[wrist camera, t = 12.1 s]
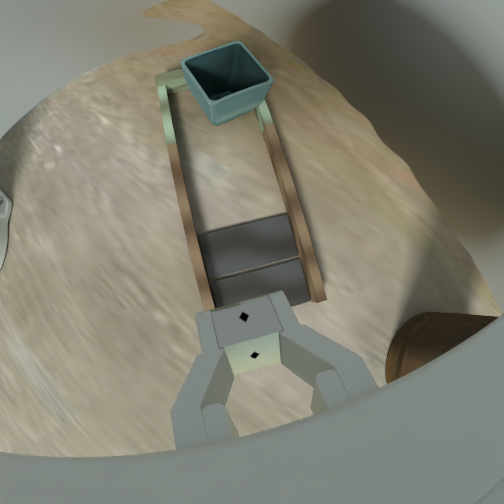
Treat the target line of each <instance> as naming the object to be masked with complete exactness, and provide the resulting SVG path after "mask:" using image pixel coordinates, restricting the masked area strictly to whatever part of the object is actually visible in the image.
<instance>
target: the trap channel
mask: <svg viewBox="0 0 504 504" xmlns="http://www.w3.org/2000/svg"><path fill="white" fill-rule="evenodd" d="M155 79H156V84H157V88H158V95H159V101H160V107H161V113H162V119H163V125H164V131H165V137H166V142H167V148H168V153H169V158H170V164H171V169H172V174H173V179H174V184H175V189H176V194H177V198H178V203H179V208H180V212H181V217H182V221H183V226H184V230H185V234H186V239H187V243H188V247H189V251H190V256H191V260H192V264H193V268H194V272H195V276H196V280H197V284H198V288H199V291H200V295H201V299H202V303H203V307H204V310H205V311H206V310H211V309H214V308H215V305H214V302H213V298H212V294H211V290H210V286H209V283H208V279H207V275H206V271H205V267H204V263H203V259H202V255H201V251H200V247H199V243H198V239H197V234H196V230H195V226H194V222H193V217H192V213H191V209H190V204H189V200H188V195H187V191H186V186H185V182H184V177H183V172H182V167H181V163H180V158H179V153H178V148H177V143H176V138H175V133H174V127H173V122H172V117H171V111H170V106H169V100H168V94H172V93H176V92H180V91H185V90H189V88H188V86H187V83H186V80H185V77H184V73H183V70H182V69H179V70H174V71H170V72H165V73H161V74H157V75H155ZM254 110H255V113H256V116H257V119H258V121H259V124H260V127H261V131H262V134H263V137H264V140H265V143H266V146H267V149H268V152H269V155H270V158H271V161H272V165H273V168H274V171H275V174H276V177H277V181H278V184H279V187H280V190H281V194H282V197H283V200H284V204H285V207H286V210H287V214H288V217H289V220H288V217H287V214H286V215H281V216H277V217H273V218H269V219H264V220H260V221H256V222H252V223H248V224H243V225H239V226H235V227H231V228H227V229H223V230H219V231H215V232H211V233H207V234H203V235H199V240H200V244H201V248H202V253H203V257H204V261H205V265H206V268H207V272H208V276H209V279H210V278H214V277H218V276H222V275H226V274H230V273H234V272H237V271H241V270H245V269H249V268H253V267H257V266H260V265H264V264H268V263H272V262H276V261H279V260H283V259H287V258H291V257H295V256H298V252H299V256H300V259H301V262H300V259H298V260H294V261H291V262H287V263H283V264H279V265H276V266H272V267H268V268H264V269H261V270H257V271H253V272H249V273H245V274H242V275H238V276H234V277H230V278H226V279H222V280H218V281H215V282H211V283H210V284H211V288H212V292H213V295H214V299H215V303H216V307H217V308H219V307H223V306H227V305H231V304H236V303H239V302H242V301H245V300H249V299H252V298H256V297H259V296H263V295H266V294H267V295H268V294H270V293H274V292H278V291H281V290H282V291H283V292H284V294H285V296H286V298H287V300H288V302H289V304H290V306H291V307H292V306H295V305H299V304H302V303H305V302H308V301H311V300H312V302H316V303H319V302H322V301H325V300H327V298H326V294H325V290H324V286H323V282H322V278H321V275H320V271H319V267H318V264H317V260H316V257H315V253H314V249H313V246H312V242H311V239H310V235H309V232H308V229H307V225H306V222H305V218H304V215H303V212H302V209H301V205H300V202H299V199H298V196H297V192H296V189H295V186H294V183H293V180H292V177H291V173H290V170H289V167H288V164H287V161H286V158H285V155H284V152H283V149H282V146H281V143H280V141H279V138H278V135H277V132H276V129H275V126H274V123H273V120H272V118H271V115H270V112H269V109H268V107H267V104H266V101H265V98H264V100H263V101H262V103H261V104H260V105H259V106H258V107H256V108H255V109H254ZM289 221H290V224H291V227H292V230H291V227H290V224H289ZM292 231H293V234H294V237H293V234H292ZM294 238H295V241H296V244H295V241H294ZM296 245H297V248H298V252H297V248H296ZM301 263H302V266H303V270H304V273H303V270H302V266H301ZM304 274H305V277H304ZM305 278H306V281H307V285H308V288H307V285H306V281H305ZM308 289H309V292H308ZM309 293H310V296H311V300H310V296H309Z"/></svg>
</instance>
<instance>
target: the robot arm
mask: <svg viewBox="0 0 504 504" xmlns="http://www.w3.org/2000/svg"><path fill="white" fill-rule="evenodd" d="M2 202H3V203H2ZM11 208H12V202H11V200H10V199H9V198H8V197H7V196H6V195H5V194H4V193H3V191H2V190H1V189H0V269H1V267H2V264H3V261H4V258H5V254H6V248H7V239H8V220H9V216H10V213H11ZM196 323H197V328H198V334H199V339H200V344H201V349H202V353H200V354H198V355H197V357H196V359H195V361H194V363H193V365H192V368H191V370H190V372H189V374H188V376H187V378H186V380H185V382H184V384H183V386H182V389H181V391H180V393H179V395H178V397H177V399H176V401H175V403H174V405H173V407H172V409H171V418H172V425H173V432H174V438H175V444H176V450H171V451H164V452H156V453H147V454H137V455H125V456H109V457H48V456H33V455H22V454H13V453H5V452H0V504H504V314H502V315H501V316H500V317H498V318H497V319H496V320H494V321H493V322H491V323H490V324H489V325H487V326H486V327H484V328H483V329H482V330H480V331H479V332H477V333H476V334H474V335H473V336H471V337H470V338H468V339H467V340H465V341H464V342H462V343H461V344H459V345H457V346H456V347H454V348H453V349H451V350H449V351H448V352H446V353H444V354H443V355H441V356H439V357H438V358H436V359H434V360H432V361H431V362H429V363H427V364H425V365H423V366H422V367H420V368H418V369H416V370H414V371H412V372H410V373H409V374H407V375H405V376H403V377H401V378H399V379H397V380H395V381H393V382H391V383H389V384H387V385H385V386H382V387H380V388H379V387H378V386H377V384H376V382H375V380H374V378H373V377H372V375H371V373H370V371H369V369H368V368H367V366H366V364H365V362H364V361H363V359H362V357H361V356H359V355H358V354H356V353H354V352H352V351H350V350H349V349H347V348H345V347H343V346H341V345H340V344H338V343H336V342H334V341H332V340H331V339H329V338H327V337H325V336H323V335H322V334H320V333H318V332H316V331H315V330H313V329H311V328H309V327H308V326H306V325H301V326H300V324H299V322H298V320H297V318H296V316H295V314H294V312H293V310H292V308H291V306H290V304H289V302H288V300H287V298H286V296H285V294H284V292H283V291H282V290H281V291H278V292H274V293H270V294H268V295H267V294H266V295H263V296H259V297H256V298H252V299H249V300H245V301H242V302H239V303H236V304H231V305H227V306H223V307H219V308H214V309H211V310H206V311H202V312H198V313H196ZM277 363H282V364H283V365H284V366H285V367H287V368H288V369H289V370H291V371H292V372H293V373H295V374H296V375H297V376H299V377H300V378H301V379H303V380H304V381H305V382H307V383H308V384H309V385H311V386H312V387H313V388H314V390H313V396H312V402H311V410H312V412H313V415H312V416H309V417H306V418H303V419H300V420H297V421H294V422H291V423H288V424H285V425H282V426H278V427H275V428H272V429H268V430H265V431H261V432H257V433H254V434H250V435H246V436H242V437H239V434H238V431H237V428H236V427H235V425H234V423H233V421H232V419H231V417H230V415H229V413H228V411H227V410H226V408H225V405H226V402H227V398H228V395H229V392H230V389H231V386H232V383H233V380H234V376H235V375H238V374H242V373H245V372H249V371H252V370H255V369H259V368H262V367H266V366H270V365H274V364H277Z"/></svg>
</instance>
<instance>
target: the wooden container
mask: <svg viewBox="0 0 504 504" xmlns="http://www.w3.org/2000/svg"><path fill="white" fill-rule="evenodd" d="M497 318H498V317H494V316H481V315H471V314H459V313H438V312H426V313H422V314H419V315H417V316H415V317H413V318H412V319H410V320H409V321H408V322H407V323H406V324H405V325H404V326H403V327H402V328H401V329H400V331H399V332H398V333H397V335H396V336H395V338H394V340H393V342H392V344H391V346H390V349H389V352H388V356H387V361H386V381H387V384H389V383H391V382H393V381H395V380H397V379H399V378H401V377H403V376H405V375H407V374H409V373H410V372H412V371H414V370H416V369H418V368H420V367H422V366H423V365H425V364H427V363H429V362H431V361H432V360H434V359H436V358H438V357H439V356H441V355H443V354H444V353H446V352H448V351H449V350H451V349H453V348H454V347H456V346H457V345H459V344H461V343H462V342H464V341H465V340H467V339H468V338H470V337H471V336H473V335H474V334H476V333H477V332H479V331H480V330H482V329H483V328H484V327H486V326H487V325H489V324H490V323H491V322H493V321H494V320H496V319H497Z"/></svg>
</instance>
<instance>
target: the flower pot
mask: <svg viewBox="0 0 504 504" xmlns="http://www.w3.org/2000/svg"><path fill="white" fill-rule="evenodd" d="M180 63H181V66H182V70H183V73H184V77H185V80H186V83H187V86H188V88H189V90H190V91H191V93H192V94H193V96H194V97H195V99H196V100H197V102H198V103H199V105H200V106H201V108H202V109H203V111H204V112H205V114H206V115H207V117H208V119H209V120H210V122H211V123H212V124H213V125H216V126H217V125H220V124H223V123H225V122H227V121H230V120H232V119H234V118H237V117H239V116H241V115H244V114H246V113H248V112H250V111H252V110H253V109H255V108H256V107H258V106H259V105H260V104H261V103H262V101H263V100H264V98H265V96H266V95H267V93H268V91H269V89H270V87H271V85H272V83H273V81H274V79H273V77H272V76H271V75H270V74H269V73H268V72H267V70H266V69H265V68H264V67H263V66H262V65H261V64H260V62H259V61H258V60H257V59H256V58H255V57H254V56H253V55H252V53H251V52H250V51H249V50H248V49H247V48H246V47H245V45H244V44H243V43H242V42H240V41H235V42H231V43H228V44H225V45H222V46H219V47H216V48H213V49H210V50H207V51H204V52H201V53H198V54H196V55H193V56H190V57H187V58H185V59H183V60H181V62H180ZM217 99H218V100H217Z"/></svg>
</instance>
